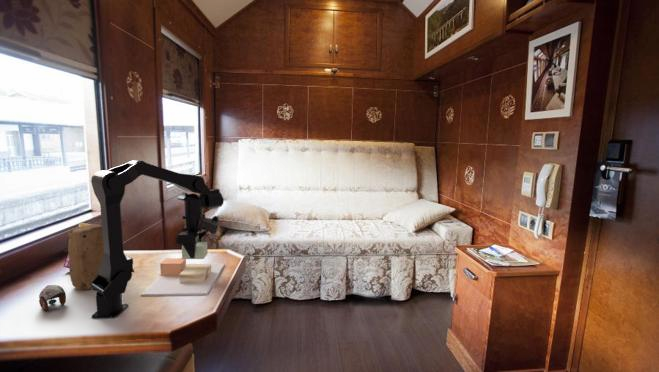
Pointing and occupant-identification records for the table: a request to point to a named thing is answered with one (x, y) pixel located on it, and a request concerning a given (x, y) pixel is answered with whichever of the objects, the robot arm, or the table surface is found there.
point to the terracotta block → (172, 266)
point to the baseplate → (182, 285)
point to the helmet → (51, 296)
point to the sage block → (196, 251)
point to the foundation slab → (195, 273)
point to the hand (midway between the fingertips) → (195, 255)
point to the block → (85, 254)
